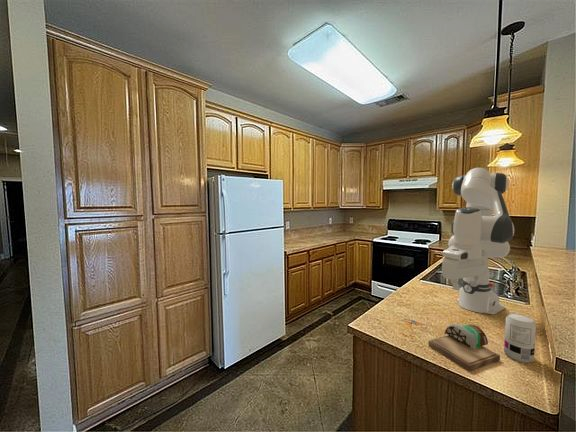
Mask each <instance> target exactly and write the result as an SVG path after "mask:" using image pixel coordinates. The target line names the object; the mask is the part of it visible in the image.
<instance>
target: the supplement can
mask: <svg viewBox="0 0 576 432" xmlns="http://www.w3.org/2000/svg"><path fill="white" fill-rule="evenodd" d="M504 324H505V326H504V344H503V345H504V346H503V352H504V353H505V354H506V356H507V357H508V358H510V359H513V360H514V361H517V362H521V363H527V364H529V363H533V362H534V361H535V352H536V350H535V349H536V334H537V324H536V322H535V320H534V319H533V318H531V317H530V316H527V315H524V314H521V313H513V312H512V313H508V315H507V316H506V317H505V323H504Z"/></svg>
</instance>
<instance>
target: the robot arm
mask: <svg viewBox="0 0 576 432" xmlns="http://www.w3.org/2000/svg"><path fill="white" fill-rule="evenodd" d="M509 183H510V182H509V179H508V177H507V175H506V173H502V172H495V173H492V172H490V171H489V170H488V169H486V168H484V167H475V168H471V169H469V170H468V172H466V174H465V175H464V174H462V175H458V176H456V177H455V178H454V179H453V181H452V184H451V188H452V191H453V193H454V194H455V195H456V196H460V197H461V198H462V199H463V200H464V201H465V202H466V205H465V207H460V208H458V209H456V210H455V214H454V217H453V220H452V221H451V234H452V236H450V238H449V239H448V243H447V245H448V247H447V248H446V249H444V250H443V251H442V254H441V255H442V257H444V258H443V259H442V260H441V261H442V262H441V275H442V277H443V278H444V279H446V280H450V283H451V284H452V290H453V291H459V295H458V298H457V299H456V302H457V303H458V306H460V307H461V308H463V309H465V310H467V311H470V312H475V313H478V314H479V313H480V314H488V315H496V314H498V313H500V312H502V311H503V310H505V309H506V306H505V305H504V304H502V303H500V297H499V295H498V294H496V293H495V292H494V291H493V290H492V288H494V287H495V283H494V282H490V269H489V260H488V258H493V259H495V258H496V259H497V258H505V257H507V255H508V254H509V253H510V251H511V245H510V243H509V242H508V241H511V240H512V239H513V237H514V235H515V226H514V223H513V221H512V218H511V216H510V214H509V210H508V208H507V205H506V201H505V199H504V197H503V194H504V193H506V191H507V190H508V188H509ZM460 279H462V280H461V285H460V284H459V283H458V282H459V280H460Z"/></svg>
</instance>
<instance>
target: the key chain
mask: <svg viewBox="0 0 576 432" xmlns="http://www.w3.org/2000/svg"><path fill="white" fill-rule="evenodd" d="M406 320H408V321H406ZM402 322H406V323H405V325H406V326H408V327H411V326H413V325H412V324H414V325H419V326H421V327H420V328H421V329H422V330H423V331H425V332H427V333H430V331H429V330H428V329H427V327H425V326H427V323H426V324H425V323H422V322H420V321H416V320H412V319H410V318H403V319H402ZM423 325H424V326H423Z"/></svg>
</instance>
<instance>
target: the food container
mask: <svg viewBox="0 0 576 432" xmlns="http://www.w3.org/2000/svg"><path fill="white" fill-rule="evenodd" d="M444 335H447V336H448V335H450V336H451V337H453V338H454V339H456V340H457V341H459V342H461V343H463V344H465V345H467V346H468V347H470V348H471V350H476V348H478V347H481V346H483V347H484V346H486V345H489V340H488V337H487V335H486V334H485V332H484V330H482V329H481V328H480V327H479V326H477V325H475V324H463V325H462V324H458V323H453V324H450V325H448V326H447V328H446V329H445V330H444Z"/></svg>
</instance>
